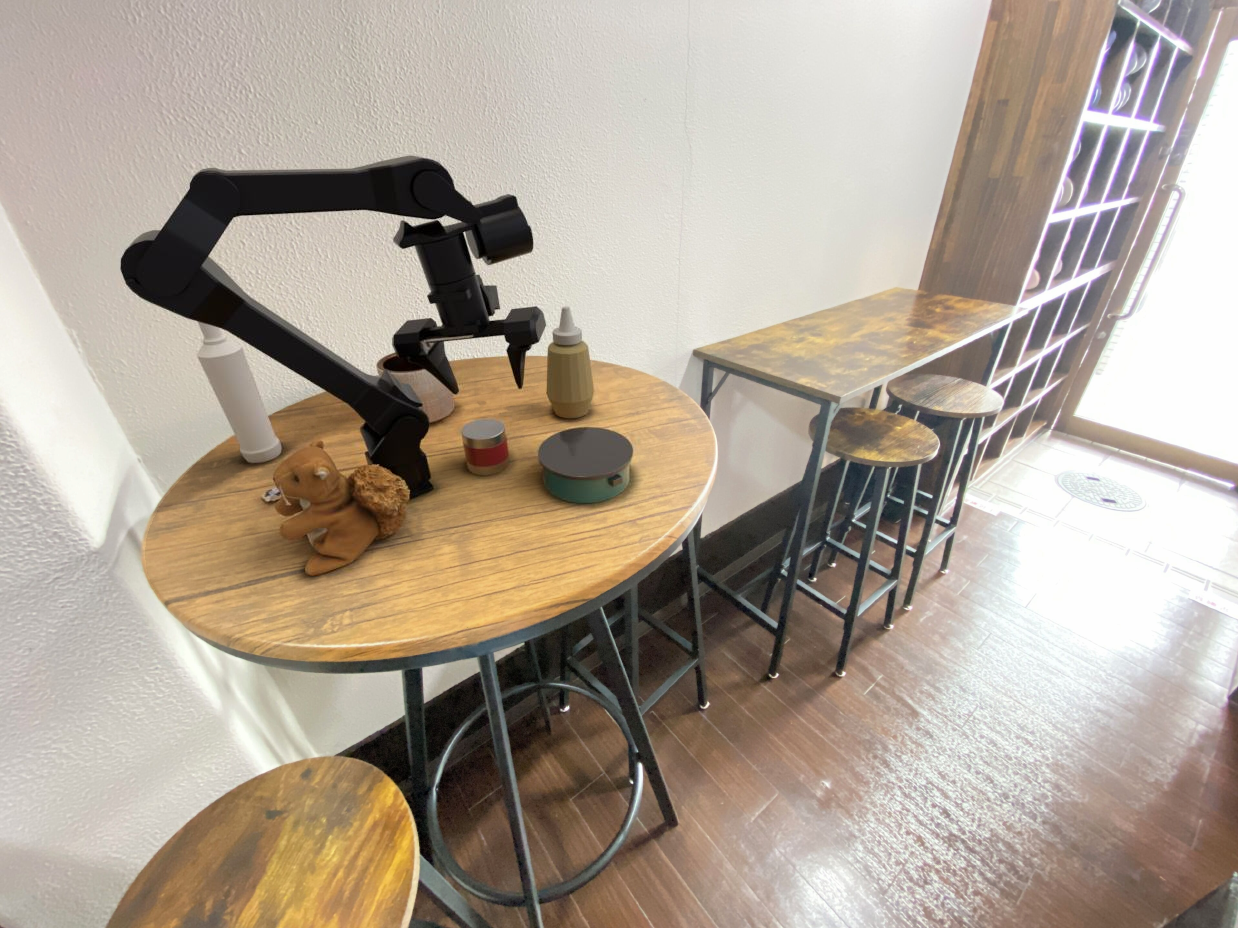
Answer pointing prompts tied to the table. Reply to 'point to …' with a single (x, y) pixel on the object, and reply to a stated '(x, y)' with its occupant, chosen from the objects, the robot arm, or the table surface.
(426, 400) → the planter
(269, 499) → the granola bar
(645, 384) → the table surface
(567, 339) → the squeeze bottle
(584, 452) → the round lidded tin
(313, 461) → the stuffed squirrel
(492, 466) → the can
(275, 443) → the bottle
